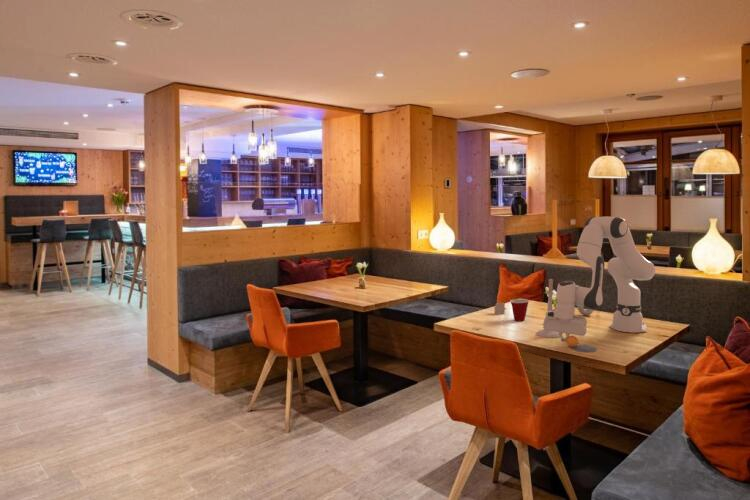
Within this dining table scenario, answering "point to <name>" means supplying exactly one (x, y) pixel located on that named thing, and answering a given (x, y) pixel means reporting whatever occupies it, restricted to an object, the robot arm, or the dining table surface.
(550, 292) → the candlestick
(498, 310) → the architectural model
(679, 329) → the dining table surface
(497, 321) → the dining table surface
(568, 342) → the ball
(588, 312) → the donut
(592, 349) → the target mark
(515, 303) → the plastic cup
